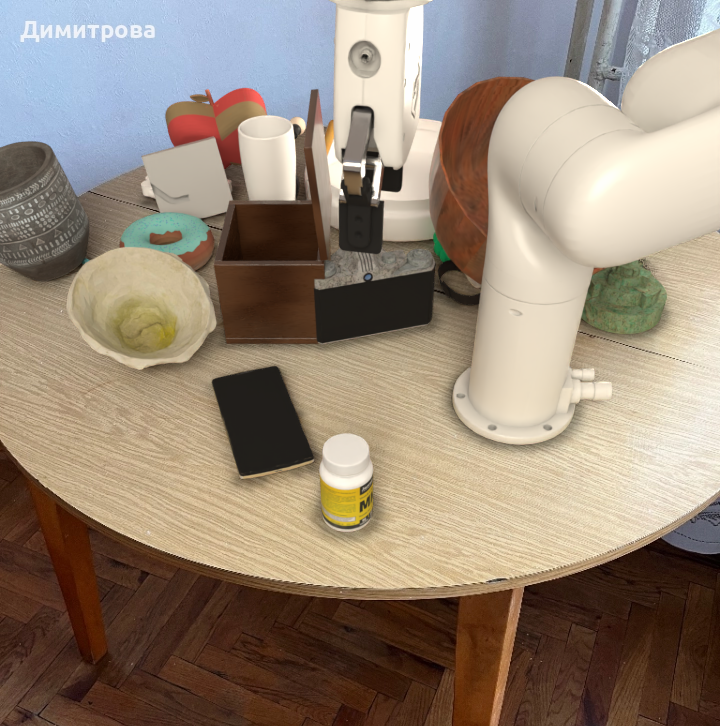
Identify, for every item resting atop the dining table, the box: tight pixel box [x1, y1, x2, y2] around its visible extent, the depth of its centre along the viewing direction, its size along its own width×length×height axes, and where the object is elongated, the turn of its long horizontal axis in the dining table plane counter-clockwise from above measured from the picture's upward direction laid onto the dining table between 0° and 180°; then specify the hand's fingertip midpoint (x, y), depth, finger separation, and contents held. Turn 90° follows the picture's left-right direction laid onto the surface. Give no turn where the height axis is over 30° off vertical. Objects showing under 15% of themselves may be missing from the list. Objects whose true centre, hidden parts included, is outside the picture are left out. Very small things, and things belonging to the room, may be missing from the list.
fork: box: [307, 119, 334, 181], centre depth 107 cm, size 2×2×20 cm
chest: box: [213, 199, 332, 345], centre depth 89 cm, size 12×14×10 cm
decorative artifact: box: [581, 260, 668, 335], centre depth 90 cm, size 10×7×10 cm
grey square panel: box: [141, 136, 234, 219], centre depth 106 cm, size 12×11×4 cm
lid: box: [303, 88, 332, 261], centre depth 81 cm, size 12×14×1 cm
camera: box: [314, 247, 437, 345], centre depth 88 cm, size 15×7×10 cm, turn 106°
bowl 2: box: [429, 76, 606, 284], centre depth 89 cm, size 25×25×11 cm
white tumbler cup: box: [238, 114, 297, 201], centre depth 98 cm, size 7×7×15 cm
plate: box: [303, 117, 442, 243], centre depth 110 cm, size 27×27×6 cm
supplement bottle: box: [318, 432, 374, 533], centre depth 68 cm, size 5×5×8 cm
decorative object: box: [164, 87, 268, 171], centre depth 108 cm, size 14×4×15 cm
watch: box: [437, 260, 481, 306], centre depth 93 cm, size 8×5×4 cm, turn 31°
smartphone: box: [211, 365, 315, 480], centre depth 79 cm, size 7×1×15 cm
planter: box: [0, 140, 90, 282], centre depth 94 cm, size 12×12×13 cm
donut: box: [118, 212, 216, 272], centre depth 99 cm, size 12×12×4 cm
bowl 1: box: [65, 247, 218, 371], centre depth 84 cm, size 15×14×10 cm
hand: (372, 218), depth 61 cm, fingers open, 9 cm apart
